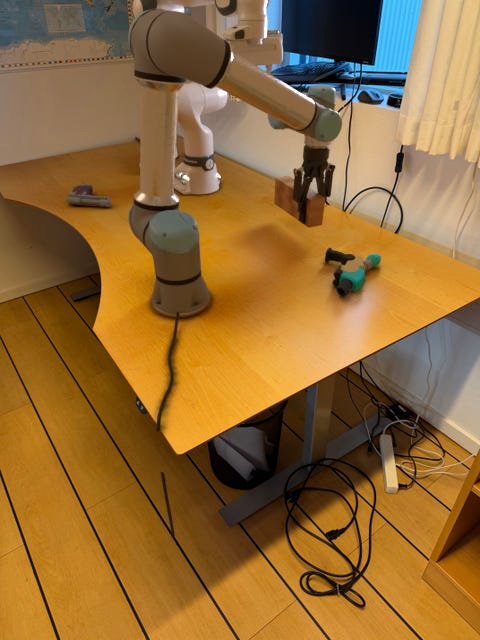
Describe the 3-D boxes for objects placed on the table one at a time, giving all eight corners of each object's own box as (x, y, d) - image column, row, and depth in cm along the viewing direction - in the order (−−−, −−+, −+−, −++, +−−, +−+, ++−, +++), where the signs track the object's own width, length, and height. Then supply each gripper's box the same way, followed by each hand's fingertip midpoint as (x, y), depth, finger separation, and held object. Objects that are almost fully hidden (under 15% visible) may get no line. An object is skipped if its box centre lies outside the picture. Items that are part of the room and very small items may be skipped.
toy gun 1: (124, 195, 187) (108, 210, 175) (80, 192, 190) (61, 206, 178) (122, 185, 185) (106, 200, 173) (78, 182, 188) (59, 197, 176)
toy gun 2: (303, 277, 126) (358, 291, 120) (334, 239, 144) (384, 250, 139) (302, 292, 128) (356, 306, 123) (333, 252, 147) (381, 263, 141)
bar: (322, 225, 149) (325, 197, 144) (308, 227, 147) (311, 200, 142) (286, 201, 165) (288, 175, 160) (274, 203, 164) (275, 177, 158)
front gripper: (335, 138, 143) (326, 211, 157) (283, 145, 137) (278, 221, 150) (350, 144, 138) (339, 220, 151) (296, 152, 131) (291, 230, 145)
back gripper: (277, 28, 148) (276, 77, 156) (217, 32, 141) (219, 83, 149) (287, 30, 144) (285, 80, 152) (226, 33, 137) (227, 86, 145)
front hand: (309, 220), depth 151 cm, fingers closed on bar, 5 cm apart
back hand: (252, 82), depth 151 cm, fingers open, 8 cm apart
